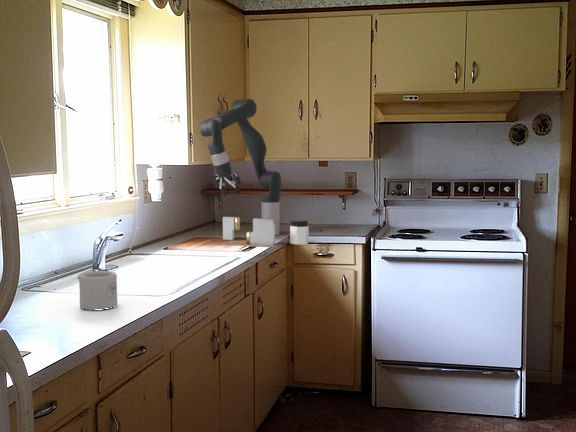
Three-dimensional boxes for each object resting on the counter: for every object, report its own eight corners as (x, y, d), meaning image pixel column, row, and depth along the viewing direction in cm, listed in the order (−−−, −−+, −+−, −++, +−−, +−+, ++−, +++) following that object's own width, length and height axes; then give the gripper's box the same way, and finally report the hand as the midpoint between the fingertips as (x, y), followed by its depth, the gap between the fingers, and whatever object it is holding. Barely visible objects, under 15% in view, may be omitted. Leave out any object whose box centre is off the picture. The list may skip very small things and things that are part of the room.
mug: (102, 312, 198) (101, 278, 197) (72, 309, 202) (71, 275, 201) (129, 302, 211) (129, 270, 210) (100, 299, 215) (99, 267, 214)
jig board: (230, 243, 332) (230, 240, 332) (281, 246, 323) (281, 243, 323) (220, 246, 320) (220, 244, 320) (272, 250, 312) (272, 247, 312)
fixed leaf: (247, 243, 324) (247, 217, 322) (275, 244, 319) (275, 219, 318) (245, 244, 321) (245, 218, 320) (273, 245, 317) (273, 219, 315)
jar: (286, 245, 326) (286, 220, 325) (298, 243, 331) (299, 218, 330) (299, 247, 319) (299, 221, 318) (312, 245, 325) (312, 220, 324)
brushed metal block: (222, 241, 337) (222, 217, 336) (225, 240, 340) (224, 216, 338) (238, 242, 334) (238, 217, 333) (240, 241, 337) (240, 217, 335)
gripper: (237, 158, 315) (247, 191, 319) (215, 160, 324) (226, 192, 328) (226, 163, 309) (237, 197, 314) (205, 166, 319) (215, 198, 323)
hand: (231, 195), depth 321 cm, fingers open, 8 cm apart
